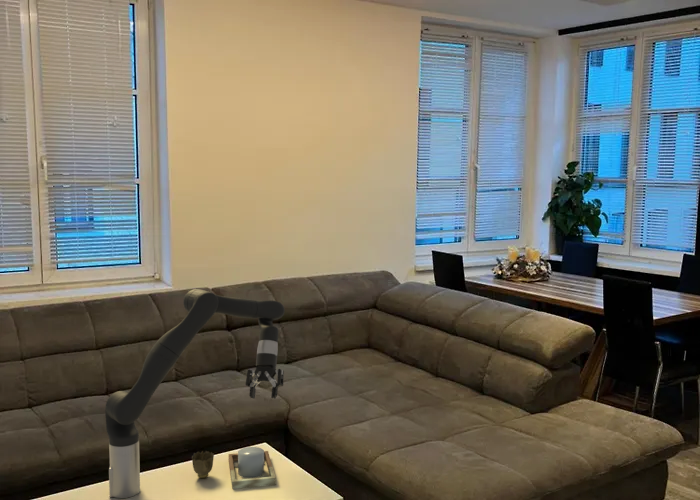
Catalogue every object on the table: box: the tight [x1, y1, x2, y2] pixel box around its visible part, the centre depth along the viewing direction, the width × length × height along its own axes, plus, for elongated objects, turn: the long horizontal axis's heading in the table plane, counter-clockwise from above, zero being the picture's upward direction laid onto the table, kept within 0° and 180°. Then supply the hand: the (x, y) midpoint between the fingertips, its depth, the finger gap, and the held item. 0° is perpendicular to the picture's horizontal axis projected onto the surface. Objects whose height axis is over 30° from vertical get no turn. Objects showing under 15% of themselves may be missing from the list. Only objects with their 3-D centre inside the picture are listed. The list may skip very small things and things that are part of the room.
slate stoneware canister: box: [237, 446, 265, 479], centre depth 236 cm, size 9×9×8 cm
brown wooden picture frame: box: [228, 450, 277, 490], centre depth 237 cm, size 14×23×2 cm, turn 13°
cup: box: [191, 450, 215, 480], centre depth 232 cm, size 8×7×8 cm
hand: (263, 398), depth 244 cm, fingers open, 8 cm apart
